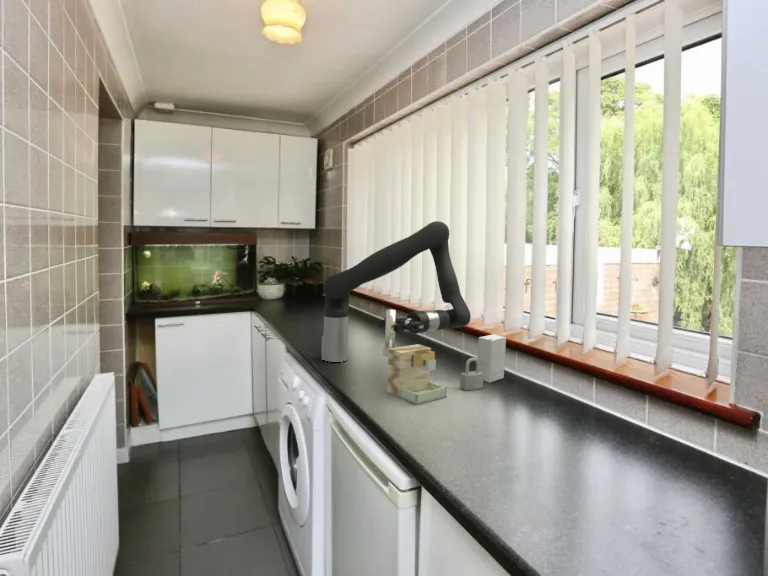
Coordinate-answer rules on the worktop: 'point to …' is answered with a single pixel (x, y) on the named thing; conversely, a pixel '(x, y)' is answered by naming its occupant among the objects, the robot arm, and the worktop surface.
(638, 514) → the worktop surface
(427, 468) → the worktop surface
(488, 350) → the skincare box
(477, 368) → the padlock
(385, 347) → the crank handle
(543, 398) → the worktop surface
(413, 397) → the tray
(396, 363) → the bearing block
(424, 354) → the spacer
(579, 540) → the worktop surface
